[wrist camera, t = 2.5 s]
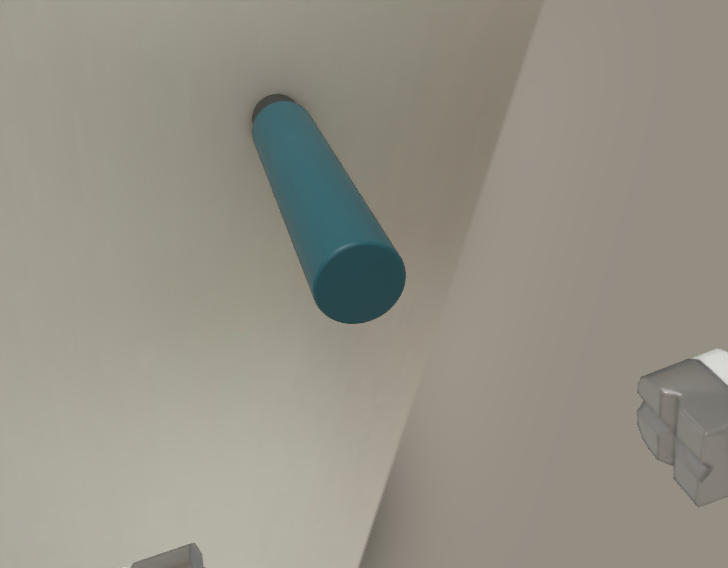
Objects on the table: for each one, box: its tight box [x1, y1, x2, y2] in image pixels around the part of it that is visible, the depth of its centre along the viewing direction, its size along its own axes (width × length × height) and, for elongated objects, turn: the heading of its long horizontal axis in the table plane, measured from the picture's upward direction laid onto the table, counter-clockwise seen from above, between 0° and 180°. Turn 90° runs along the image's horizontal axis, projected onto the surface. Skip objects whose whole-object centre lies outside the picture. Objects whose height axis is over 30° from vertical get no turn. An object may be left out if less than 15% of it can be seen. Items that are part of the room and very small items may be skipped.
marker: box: [252, 95, 406, 324], centre depth 22 cm, size 2×2×13 cm
